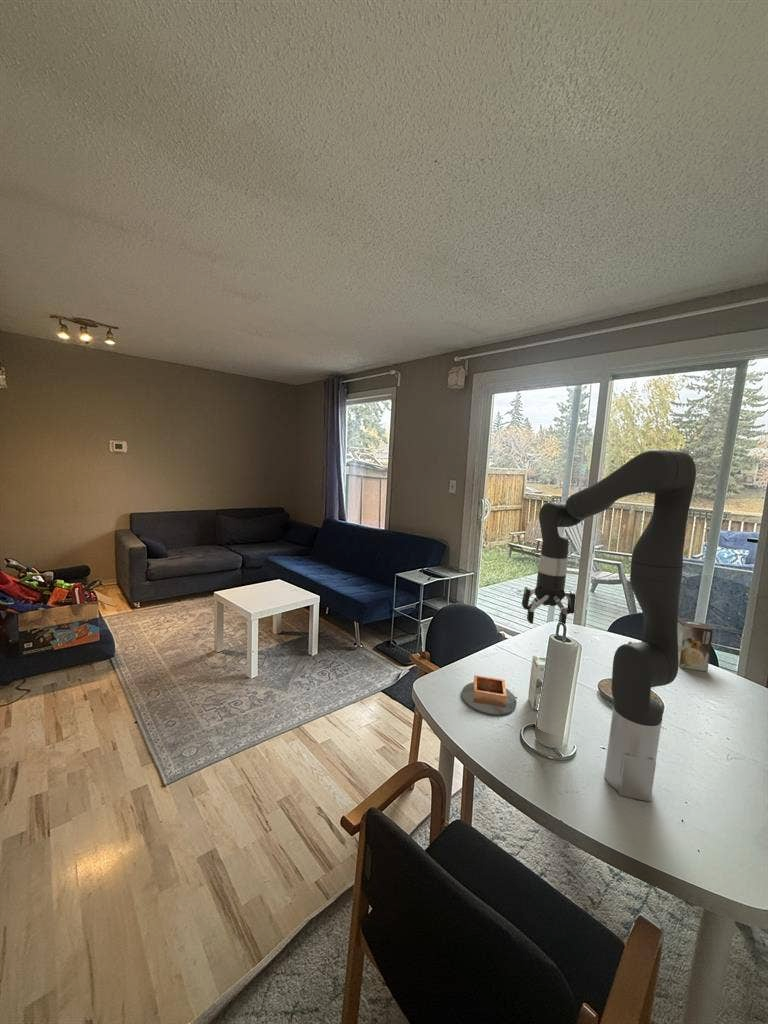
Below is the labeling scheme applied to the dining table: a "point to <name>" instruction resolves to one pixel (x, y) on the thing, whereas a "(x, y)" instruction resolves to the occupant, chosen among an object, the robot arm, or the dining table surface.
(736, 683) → the dining table surface
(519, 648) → the dining table surface
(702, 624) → the coffee box
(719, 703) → the dining table surface
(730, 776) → the dining table surface
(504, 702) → the rosette socket
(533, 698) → the syrup box
